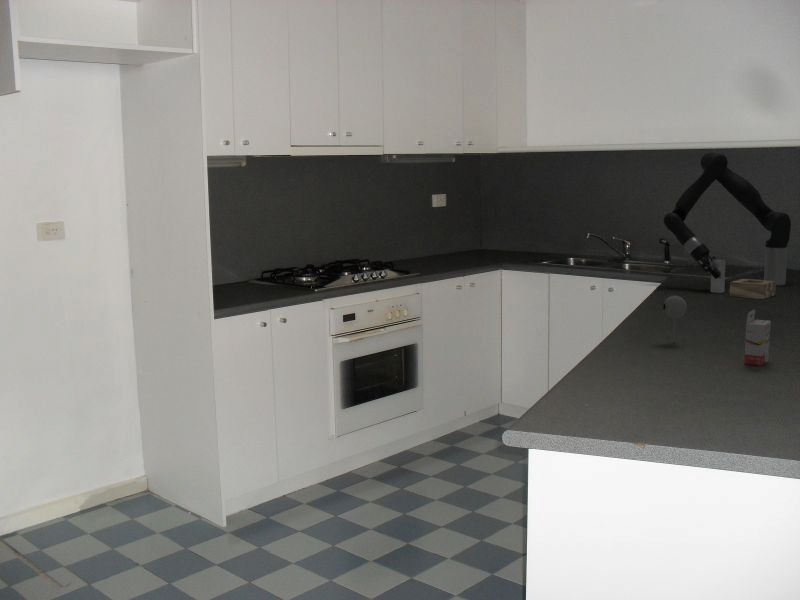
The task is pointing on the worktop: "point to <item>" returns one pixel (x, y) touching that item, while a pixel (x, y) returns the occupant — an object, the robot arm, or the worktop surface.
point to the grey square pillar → (718, 283)
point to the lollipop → (674, 309)
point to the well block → (752, 288)
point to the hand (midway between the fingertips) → (721, 276)
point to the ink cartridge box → (757, 340)
